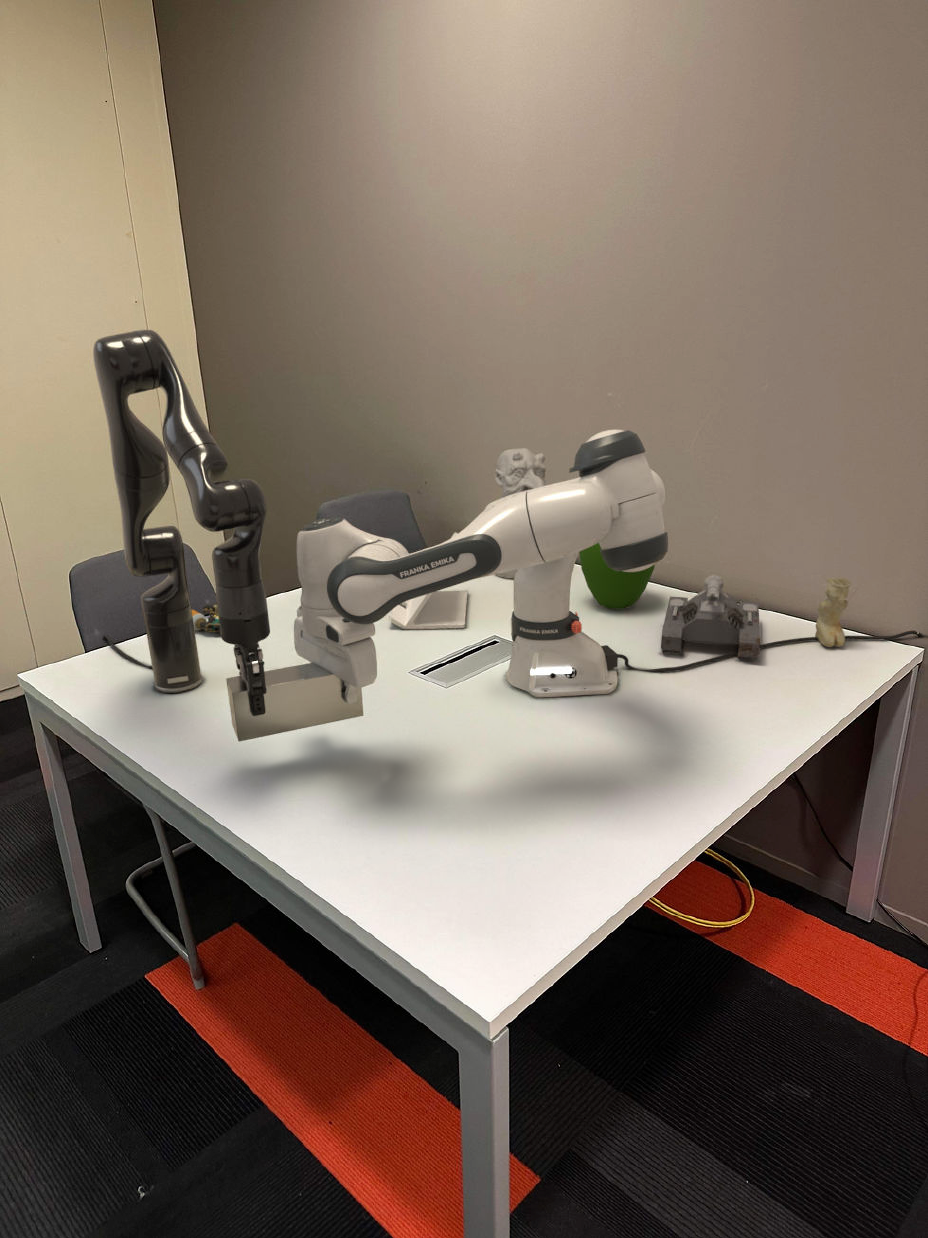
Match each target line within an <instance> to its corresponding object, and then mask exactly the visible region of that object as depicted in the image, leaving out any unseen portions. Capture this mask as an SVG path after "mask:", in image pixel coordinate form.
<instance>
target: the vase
mask: <svg viewBox="0 0 928 1238" xmlns="http://www.w3.org/2000/svg"><path fill="white" fill-rule="evenodd" d="M600 550H601V547H600V544H599V543H597V544H595V545H593V546H591V547H589V548H587V549H584V550H582V551H580V552H579V554H578V555H579V562H580V569H581V571H582V574H583V577H584V580H585V583H586V585H587V588H588V590H589V591H590V594H592V597H593V598H594V600H595V601H596V602H597V603H598V604H599V605H600V606H602V607H604V608H606V609H609V610H625V609H628V608H630V607H632V606H634V604H636V602H638V601H639V599H640V597H641V596H642V595H643V593H644V592H645V590H646V588H647V586H648V584H649V581H650V579H651V577H652V574H653V572H654V570H655V566H656V564H654V565H653V566H651V567H649V568H647V569H645V570H642V571H637V572H624V571H615V570H613V569H611V568H609V567H608V566H607V564H606V563H605V561H604V559H603V557H602V555H601V552H600Z"/></svg>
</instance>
